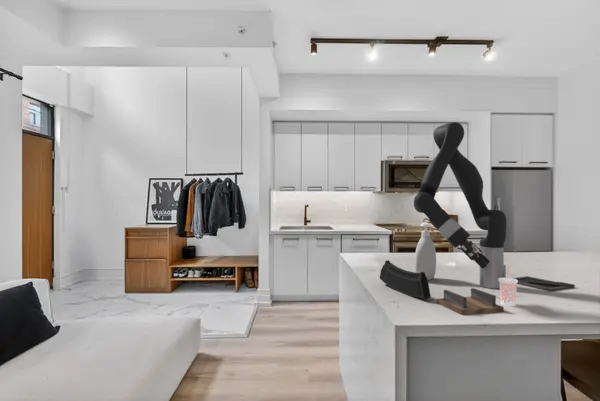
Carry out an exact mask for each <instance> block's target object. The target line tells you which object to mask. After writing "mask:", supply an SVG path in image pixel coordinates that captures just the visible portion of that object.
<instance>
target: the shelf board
mask: <svg viewBox="0 0 600 401" xmlns="http://www.w3.org/2000/svg"><path fill="white" fill-rule="evenodd" d="M496 296H497V295H494V294H492V293H489V292H486V291H483V290H480V289H478V288H474V287H471V288H470V296H463V295H462V294H458V293H456V292H454V291H451V290H448V289H443V298H437V299H436V303H437V304H438V305H441V306H442V305H443V306H442V307H444V306H445V308H446V307H447V308H446V309H448V308H449V310H451V311H453V312H455V313H456V314H459V315H460V316H461V315H464V316H465V315H476V314H477V315H478V314H489V313H500V312H504V306H503V305H499V304H497V303H496V301H497V300H496V298H497V297H496Z"/></svg>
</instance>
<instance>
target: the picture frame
mask: <svg viewBox="0 0 600 401" xmlns="http://www.w3.org/2000/svg"><path fill="white" fill-rule="evenodd" d="M512 278H513V279H517V280H518V283H517V285H519V286H524V287H527V288H528V287H529V288H533V289H537V290H542V291H546V292H556V291H562V290H569V289H575V286H576V285H575V284H574V283H573V284H572V283H567V282H562V281H552V280H548V279H543V278H538V277H532V276H529V275H528V276H518V277H512Z"/></svg>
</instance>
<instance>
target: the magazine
mask: <svg viewBox="0 0 600 401" xmlns="http://www.w3.org/2000/svg"><path fill="white" fill-rule="evenodd" d="M379 279H380V281H382V282H383V283H384V284H385V286H386V287H387V286H388V287H389V288H391V289H393V290H394V291H396V292H399V293H401V294H403V295H406V296H410V297H413V298H414V297H416V298H420V299H423V300H428V299H431V297H432V296H431V291H430V285H429V280H428V279H427V277H426V275H425V272H421V273H416V272H415V271H410V270H405V269H402V268H401V267H398V266H396V265H394V263H392V262H391V261H390V260H385V262H384V264H383V265H382V268H381V269H380V273H379Z"/></svg>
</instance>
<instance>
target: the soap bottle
mask: <svg viewBox="0 0 600 401" xmlns="http://www.w3.org/2000/svg"><path fill="white" fill-rule="evenodd" d="M419 226H420V227H422V228H424V229H423V230H422V231H421V236H420V239H419V240H418V242H417V245H416V248H415V253H414V273H421V272H425V275H426V277H427V279H428V281H430V280H433V279H434V278H435V275H436V272H437V253H436V247H435V244H434V241H433V240H432V238H431V234H430V231H429V230H428V227H430V228H431V227H432V228H435V227H434V226H433V225H432V224H431V223H429V222H426V221H425V222H424V221H423V222H422V223H421V224H420V225H419Z"/></svg>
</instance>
